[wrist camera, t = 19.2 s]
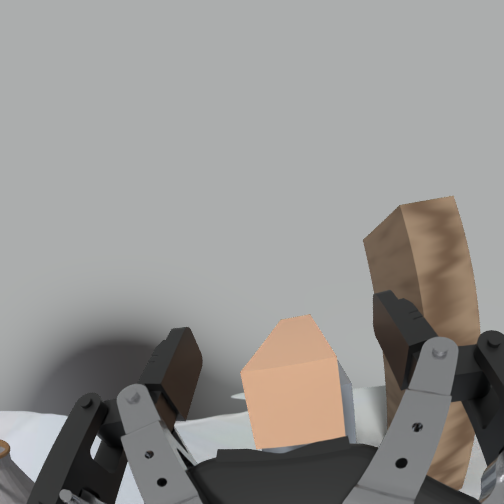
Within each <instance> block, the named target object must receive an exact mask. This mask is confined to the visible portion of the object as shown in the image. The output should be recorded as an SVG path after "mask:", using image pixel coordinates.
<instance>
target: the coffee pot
mask: <svg viewBox="0 0 504 504" xmlns="http://www.w3.org/2000/svg"><path fill="white" fill-rule="evenodd" d="M9 452H10V446H9V444H8V443H7V442H5V441H3V440H0V504H27V501H28V498H29V496H30V494H31V491H32V489H33V487H34V484H35V483H34V482H33V481H32V480H31V479H30V478H29V477H28V476H27V475H26V474H25V473H24V472H23V471H22V470H21V469H20V468H19V467H18V466H17V465H16V464H15V463H14V462H13V461H12V460H11V457H10V453H9Z"/></svg>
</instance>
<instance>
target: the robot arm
mask: <svg viewBox="0 0 504 504" xmlns="http://www.w3.org/2000/svg"><path fill="white" fill-rule="evenodd" d="M373 327H374V332H375V336H376V338H377V340H378V342H379V344H380V346H381V348H382V350H383V353H384V355H385V357H386V359H387V361H388V363H389V365H390V368H391V370H392V372H393V374H394V376H395V379H396V381H397V383H398V385H399V388H400V390H401V391H402V390H405V389H406V391H405V393H404V395H403V398H402V400H401V403H400V405H399V407H398V409H397V412H396V414H395V416H394V418H393V420H392V423H391V425H390V427H389V429H388V431H387V433H386V435H385V437H384V439H383V441H382V443H381V445H380V446H379V448H378V447H374V446H371V445H366V444H357V443H349V438H348V436H344V437H339V438H334V439H329V440H324V441H318V442H314V443H311V444H309V445H306V446H303V447H300V448H297V449H294V450H291V451H288V452H285V453H272V452H265V451H258V450H252V449H218V451H217V457H216V458H212V459H209V460H206V461H203V462H201V463H199V464H198V463H197V462H196V461H195V460H194V458H193V457H192V455H191V453H190V452H189V450H188V448H187V447H186V445H185V443H184V442H183V440H182V438H181V437H180V435H179V433H178V431H177V429H176V428H175V427H174V424H175V421H186V419H187V415H188V412H189V408H190V405H191V402H192V398H193V395H194V391H195V388H196V385H197V381H198V378H199V374H200V371H201V368H202V355H201V352H200V350H199V347H198V345H197V343H196V341H195V338H194V336H193V334H192V331H191V329H190V328H189V327H183V328H174V329H172V330H171V331H170V333H169V335H168V337H167V339H166V340H163V341H162V342H161V343H160V344H159V345H158V346H157V347H156V348H155V350H154V352H153V354H152V357H151V358H150V360H149V363H148V364H147V365H146V367H145V369H144V371H143V373H142V375H141V377H140V379H139V381H138V383H137V384H133V385H130V386H128V387H126V388H124V389H123V390H122V391H121V392H120V393H119V395H118V397H117V399H113V400H107V401H103V400H102V399H101V397H100V396H99V395H98V394H96V393H88V394H86V395H84V396H82V397H81V398H80V399H79V400H78V401H77V402H76V404H75V406H74V408H73V409H72V411H71V413H70V415H69V416H68V418H67V420H66V422H65V424H64V425H63V427H62V429H61V431H60V433H59V435H58V437H57V439H56V441H55V443H54V444H53V446H52V448H51V450H50V452H49V454H48V456H47V458H46V461H45V463H44V465H43V467H42V469H41V471H40V473H39V475H38V478H37V480H36V482H35V484H34V487H33V489H32V491H31V494H30V496H29V498H28V501H27V504H115V501H116V498H117V494H118V491H119V488H120V484H121V481H122V478H123V475H124V471H125V468H126V465H127V462H129V465H130V468H131V471H132V473H133V476H134V479H135V481H136V484H137V486H138V489H139V491H140V493H141V496H142V498H143V500H144V504H504V335H503V334H502V333H500V332H498V331H492V330H491V331H486V332H484V333H482V334H481V335H480V336H479V338H478V340H477V344H473V345H466V346H457V344H456V343H455V342H454V341H453V340H451V339H449V338H446V337H439V336H438V335H437V333H436V332H435V331H434V329H433V328H432V327H431V325H430V324H429V323H428V322H427V320H426V319H425V318H424V317H423V315H422V314H421V313H420V311H418V309H417V308H416V306H415V305H414V304H413V303H412V302H410V301H408V300H406V299H405V298H402V299H398V298H397V297H396V296H395V294H394V293H393V292H392V291H391V290H387V291H383V292H379V293H375V294H374V295H373ZM457 401H461V402H462V404H463V407H464V409H465V411H466V413H467V415H468V418H469V420H470V422H471V425H472V427H473V429H474V432H475V434H476V437H477V439H478V442H479V444H480V447H481V450H482V452H483V455H484V458H485V461H486V464H487V468H486V469H485V471H484V473H483V475H482V478H481V495H480V498H479V500H477V499H475V498H473V497H471V496H469V495H467V494H464V493H462V492H460V491H458V490H456V489H454V488H452V487H449V486H447V485H445V484H443V483H441V482H439V481H437V480H436V479H434V478H432V477H430V476H428V475H426V474H427V472H428V470H429V467H430V465H431V462H432V460H433V457H434V455H435V452H436V449H437V446H438V444H439V441H440V438H441V435H442V432H443V428H444V425H445V422H446V418H447V415H448V411H449V407H450V403H451V402H457ZM96 435H97V436H98V437H99V438H100V439H101V440H102V441H101V443H100V446H99V448H98V451H97V453H96V456H95V458H94V460H93V459H92V457H91V454H90V449H91V446H92V444H93V442H94V439H95V437H96Z"/></svg>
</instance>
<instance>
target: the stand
mask: <svg viewBox="0 0 504 504" xmlns="http://www.w3.org/2000/svg"><path fill="white" fill-rule="evenodd" d="M363 242H364V246H365V251H366V255H367V260H368V264H369V269H370V274H371V279H372V284H373V289H374V294H375V293H379V292H383V291H387V290H391V291H392V292H393V293H394V294H395V296H396V297H397V298H398V299H402V298H405V299H406V300H408V301H410V302H412V303H413V304H414V305H415V306H416V308H417V309H418V311H420V313H421V314H422V315H423V317H424V318H425V319H426V320H427V322H428V323H429V324H430V325H431V327H432V328H433V329H434V331H435V332H436V333H437V335H438V336H439V337H446V338H449V339H451V340H453V341H454V342H455V343H456V344H457V346H466V345H473V344H477V340H478V338H479V336H480V322H479V311H478V301H477V294H476V287H475V280H474V274H473V269H472V264H471V259H470V254H469V249H468V245H467V241H466V237H465V233H464V229H463V225H462V222H461V218H460V215H459V212H458V208H457V205H456V202H455V199H454V196H449V197H444V198H437V199H432V200H426V201H420V202H415V203H409V204H403V205H399V206H398V207H397V209H395V210H394V211H393V212H392V213H391V214H390V215H389V216H388V217H387V218H386V219H385V220H384V221H383V222H382V223H381V224H380V225H378V226H377V227H376V228H375V229H374V230H373V231H372V232H371V233H370V234H369V235H368V236H367V237H366V238H364V239H363ZM383 359H384V369H385V382H386V397H387V429H389V427H390V425H391V423H392V420H393V418H394V416H395V414H396V412H397V409H398V407H399V405H400V403H401V400H402V398H403V395H404V393H405V391H406V389H405V390H402V391H401V390H400V388H399V385H398V383H397V381H396V379H395V376H394V374H393V372H392V370H391V368H390V365H389V363H388V361H387V359H386V357H385V355H384V353H383ZM474 436H475V432H474V429H473V427H472V425H471V422H470V420H469V418H468V415H467V413H466V411H465V409H464V407H463V404H462V402H461V401H457V402H451V403H450V407H449V411H448V415H447V418H446V422H445V425H444V428H443V432H442V435H441V438H440V441H439V444H438V446H437V449H436V452H435V455H434V457H433V460H432V462H431V465H430V467H429V470H428V472H427V474H426V475H428V476H430V477H432V478H434V479H436V480H437V481H439V482H441V483H443V484H445V485H447V486H449V487H452V488H454V489H456V490H459V489H461V488H462V486H463V482H464V479H465V476H466V472H467V468H468V464H469V460H470V456H471V451H472V446H473V441H474Z"/></svg>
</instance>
